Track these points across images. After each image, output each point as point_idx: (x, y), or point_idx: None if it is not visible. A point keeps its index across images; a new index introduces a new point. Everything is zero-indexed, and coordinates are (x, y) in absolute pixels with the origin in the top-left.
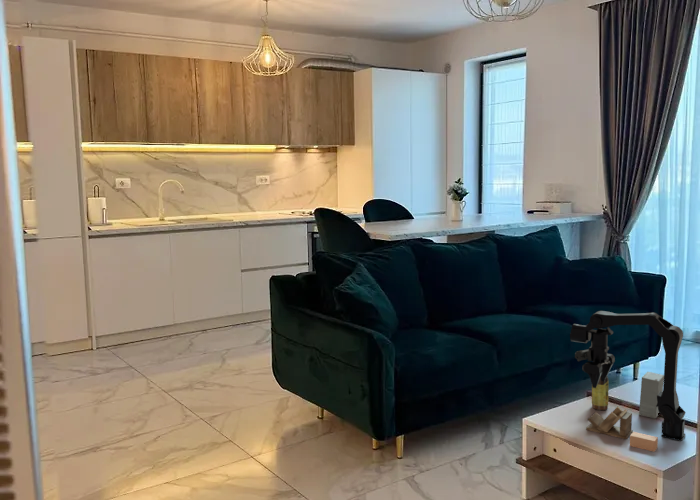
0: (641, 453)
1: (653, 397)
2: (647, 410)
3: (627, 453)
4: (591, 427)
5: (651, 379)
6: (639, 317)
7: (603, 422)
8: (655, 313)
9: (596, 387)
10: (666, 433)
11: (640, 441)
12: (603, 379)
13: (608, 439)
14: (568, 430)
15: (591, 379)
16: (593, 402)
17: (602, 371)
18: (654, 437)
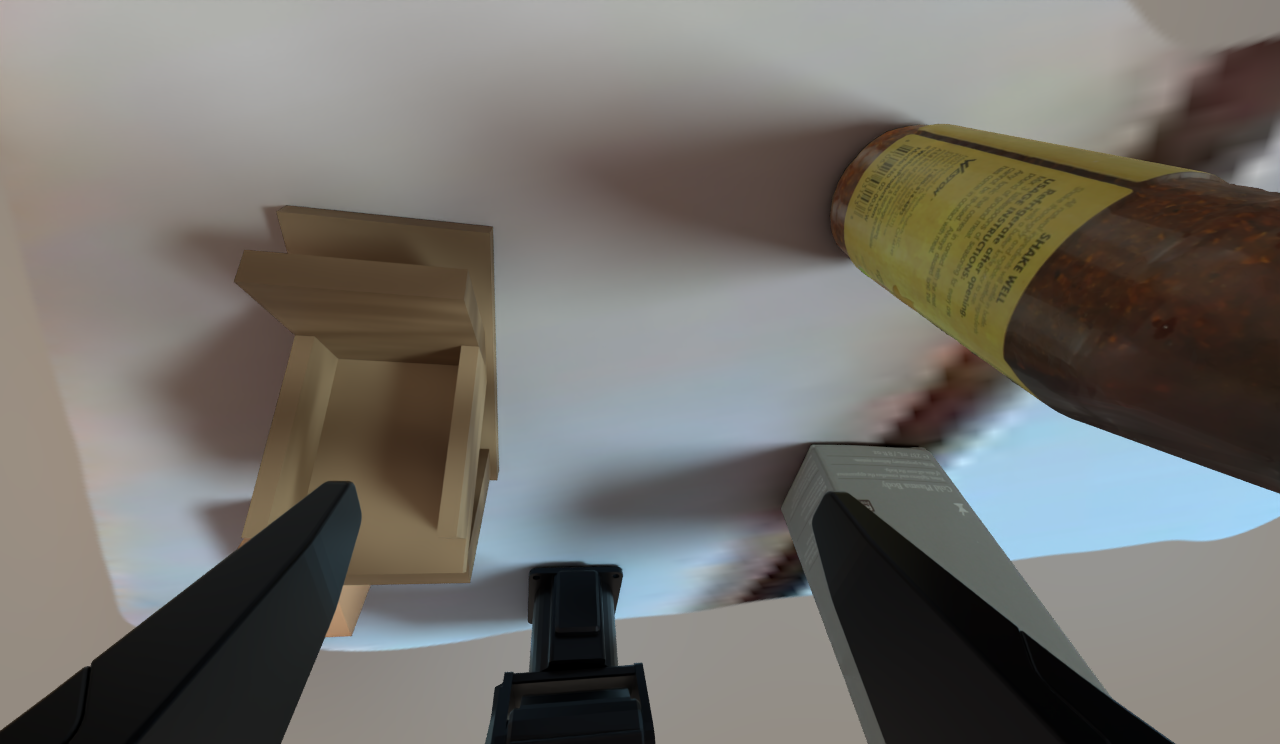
0: (223, 550)
1: (835, 622)
2: (806, 511)
3: (143, 509)
4: (323, 252)
5: None
6: None
7: (283, 395)
8: None
9: (995, 254)
10: (544, 593)
11: None
12: (831, 547)
13: (251, 390)
14: (91, 28)
15: (86, 698)
16: (890, 160)
17: (956, 706)
18: (330, 629)
